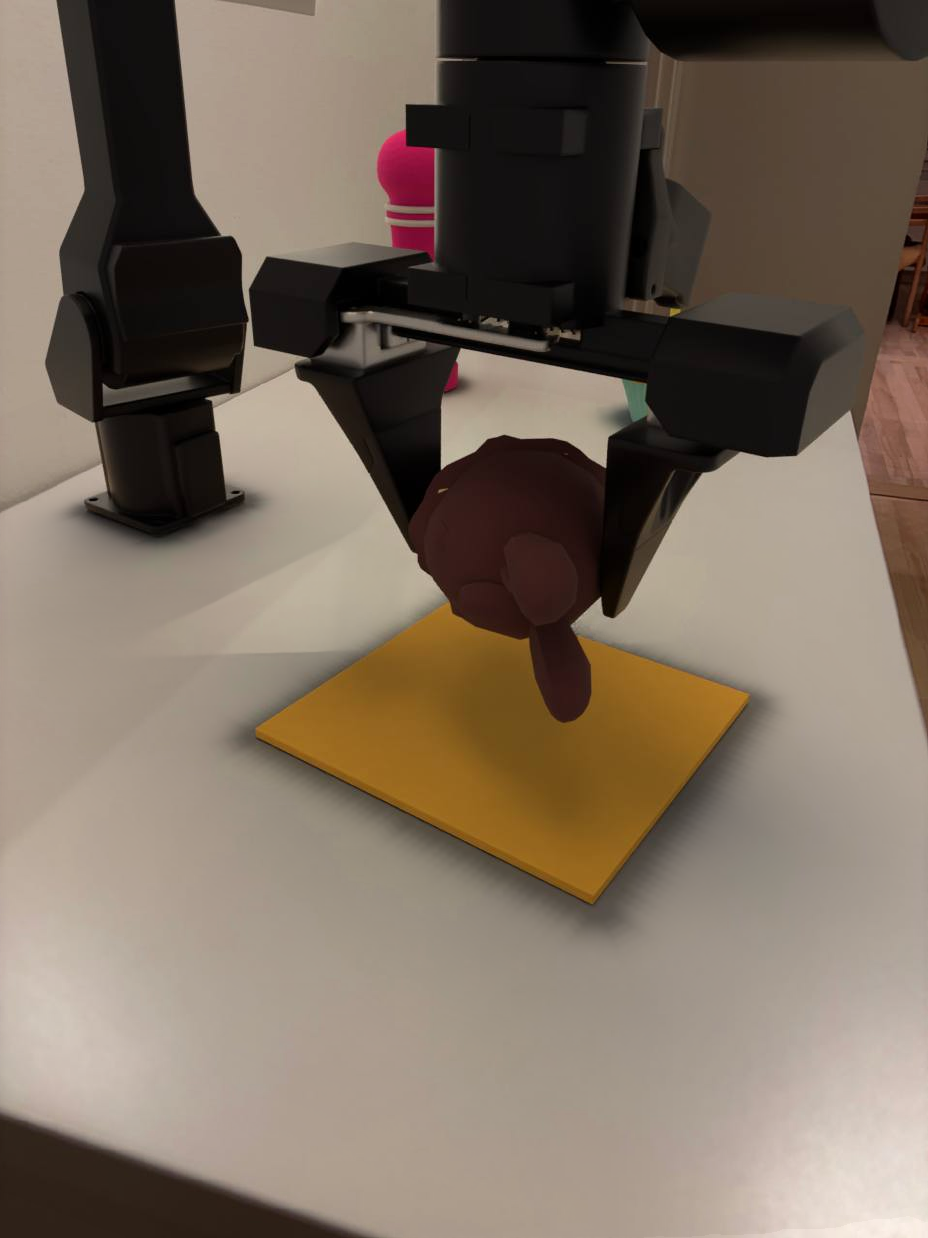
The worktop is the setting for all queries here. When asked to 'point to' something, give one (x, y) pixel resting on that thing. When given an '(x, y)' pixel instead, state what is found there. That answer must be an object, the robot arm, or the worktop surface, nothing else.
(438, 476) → the brown lumpy figure
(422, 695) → the flat square board
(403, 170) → the pepper mill
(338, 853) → the worktop surface
